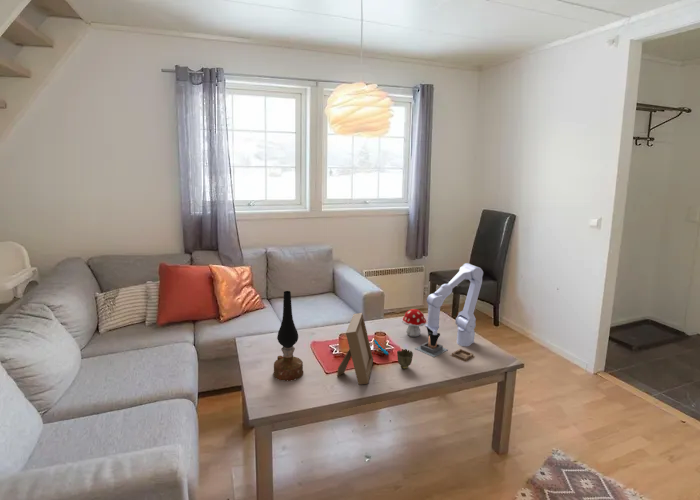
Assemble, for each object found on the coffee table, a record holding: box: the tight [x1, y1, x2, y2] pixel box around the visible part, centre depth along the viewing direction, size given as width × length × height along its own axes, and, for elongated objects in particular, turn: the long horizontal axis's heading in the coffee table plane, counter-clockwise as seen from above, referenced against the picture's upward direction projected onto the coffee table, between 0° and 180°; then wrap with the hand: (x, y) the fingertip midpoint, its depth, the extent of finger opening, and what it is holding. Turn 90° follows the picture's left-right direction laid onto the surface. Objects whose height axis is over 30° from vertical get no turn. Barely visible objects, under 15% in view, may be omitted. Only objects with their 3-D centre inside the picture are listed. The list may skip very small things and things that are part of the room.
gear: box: [373, 339, 389, 356], centre depth 213 cm, size 11×6×10 cm
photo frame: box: [336, 312, 374, 385], centre depth 192 cm, size 15×22×25 cm
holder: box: [449, 348, 476, 363], centre depth 210 cm, size 9×9×2 cm
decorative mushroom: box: [401, 308, 427, 338], centre depth 235 cm, size 14×14×15 cm
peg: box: [427, 336, 438, 349], centre depth 216 cm, size 4×4×7 cm
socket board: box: [414, 341, 449, 358], centre depth 216 cm, size 12×12×3 cm
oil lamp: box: [272, 290, 304, 382], centre depth 187 cm, size 14×15×40 cm
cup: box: [396, 348, 414, 370], centre depth 198 cm, size 7×7×8 cm
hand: (432, 342), depth 216 cm, fingers open, 7 cm apart
